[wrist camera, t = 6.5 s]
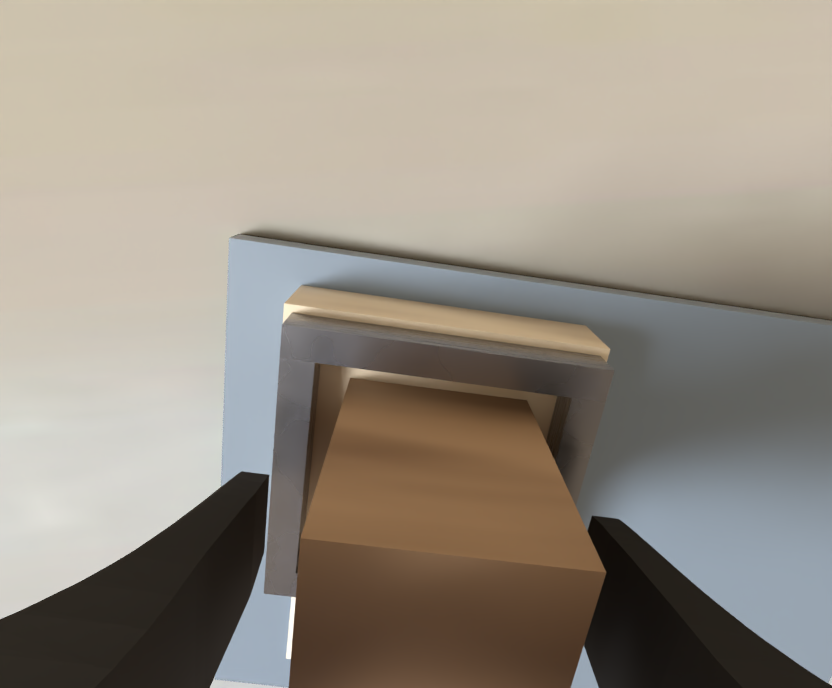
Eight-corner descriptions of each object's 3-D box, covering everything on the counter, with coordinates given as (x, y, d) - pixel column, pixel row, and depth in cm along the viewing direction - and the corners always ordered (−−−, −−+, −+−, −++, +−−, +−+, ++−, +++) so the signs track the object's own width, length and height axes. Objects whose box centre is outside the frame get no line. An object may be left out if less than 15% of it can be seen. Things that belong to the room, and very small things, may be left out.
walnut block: (494, 545, 15) (542, 779, 9) (334, 526, 15) (282, 754, 9) (527, 400, 14) (606, 572, 8) (350, 377, 13) (300, 538, 8)
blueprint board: (782, 721, 21) (857, 837, 17) (222, 660, 20) (179, 768, 16) (977, 341, 16) (1140, 394, 12) (238, 234, 15) (182, 256, 11)
